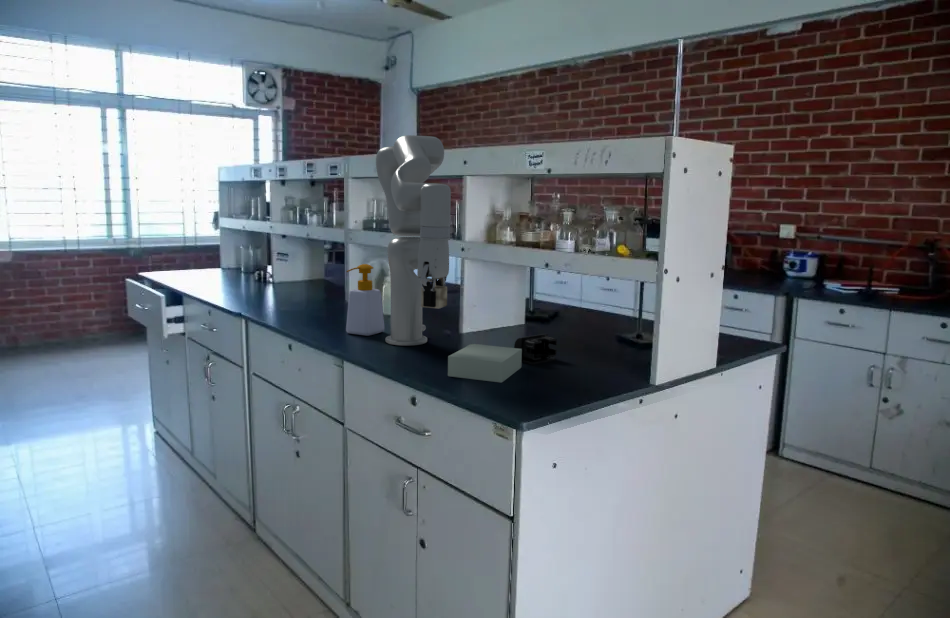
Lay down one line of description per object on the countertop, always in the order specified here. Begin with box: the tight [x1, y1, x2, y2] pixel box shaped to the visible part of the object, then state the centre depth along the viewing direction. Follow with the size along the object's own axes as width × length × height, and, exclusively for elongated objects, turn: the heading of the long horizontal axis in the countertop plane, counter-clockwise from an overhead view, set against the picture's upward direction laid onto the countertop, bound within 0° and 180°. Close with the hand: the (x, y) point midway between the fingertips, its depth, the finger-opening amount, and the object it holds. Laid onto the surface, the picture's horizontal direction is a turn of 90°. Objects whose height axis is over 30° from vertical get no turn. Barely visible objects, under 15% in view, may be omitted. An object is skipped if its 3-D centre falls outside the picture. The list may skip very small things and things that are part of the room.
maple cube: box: [421, 286, 448, 309], centre depth 171 cm, size 5×5×5 cm
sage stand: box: [447, 343, 522, 383], centre depth 170 cm, size 16×14×5 cm
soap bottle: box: [345, 263, 385, 337], centre depth 212 cm, size 10×14×22 cm
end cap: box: [513, 333, 558, 366], centre depth 184 cm, size 10×7×7 cm
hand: (434, 304), depth 172 cm, fingers closed on maple cube, 4 cm apart
